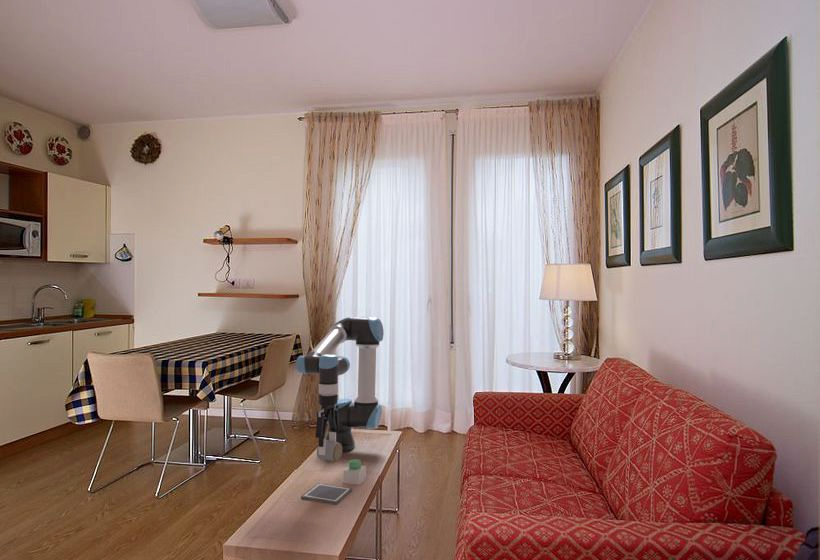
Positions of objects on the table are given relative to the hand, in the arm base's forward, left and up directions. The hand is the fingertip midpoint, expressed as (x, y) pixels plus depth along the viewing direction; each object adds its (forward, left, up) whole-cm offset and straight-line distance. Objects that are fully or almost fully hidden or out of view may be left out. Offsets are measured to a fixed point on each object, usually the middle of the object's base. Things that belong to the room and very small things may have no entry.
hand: (327, 451), depth 194 cm
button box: (-9, +8, -14) cm, 18 cm away
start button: (-9, +8, -8) cm, 14 cm away
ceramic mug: (-1, +1, -3) cm, 4 cm away
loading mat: (+7, +4, -14) cm, 16 cm away
